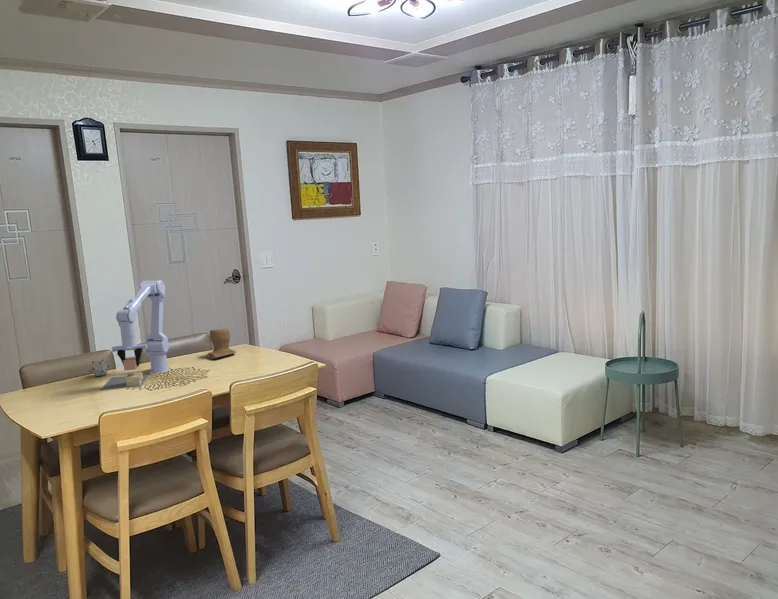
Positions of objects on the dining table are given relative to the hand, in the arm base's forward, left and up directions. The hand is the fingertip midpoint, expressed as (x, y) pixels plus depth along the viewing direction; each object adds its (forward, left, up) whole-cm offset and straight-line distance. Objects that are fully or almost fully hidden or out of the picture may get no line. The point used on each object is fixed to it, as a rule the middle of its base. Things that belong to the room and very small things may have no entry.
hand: (131, 365), depth 272 cm
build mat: (-4, -4, -8) cm, 10 cm away
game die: (-21, -19, -9) cm, 30 cm away
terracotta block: (0, 0, -1) cm, 1 cm away
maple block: (+1, +1, -8) cm, 8 cm away
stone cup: (-42, +35, -9) cm, 55 cm away
